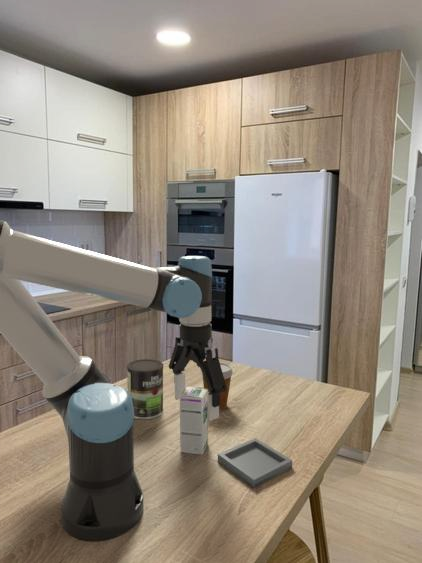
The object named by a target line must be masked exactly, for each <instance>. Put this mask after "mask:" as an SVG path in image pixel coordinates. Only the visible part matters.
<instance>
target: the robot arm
mask: <svg viewBox="0 0 422 563" xmlns="http://www.w3.org/2000/svg"><path fill="white" fill-rule="evenodd" d="M212 267H213V266H212V261H211V259H210V258H209V257H208V256H203V255H186V256H180V257H179V258H178V263H177V265H173V266H163V267H162V266H160V267H149V266H145V265H142V264H138V263H136V262H135V263H134V262H131V261H127V260H124V259H121V258H117V257H113V256H109V255H106V254H103V253H102V254H101V253H98V252H95V251H91V250H86V249H83V248H79V247H77V246H72V245H69V244H65V243H62V242H58V241H54V240H51V239H47V238H43V237H40V236H36V235H32V234H29V233H24V232H21V231H18V230H14V229H12V228H11V226H10V225H9V223H8V222H7V221H5V220H2V219H0V334H1V335H2V337H3V338H4V339H5V340H6V341H7V342H8V344H10V346H11V347H12V349H14V350H15V352H16V353H17V354H18V355H19V356H20V358H21V359H22V360H23V361H24V362H25V364H26V365H27V366H28V367H29V368H30V370H32V372H33V373H34V374H35V375H36V376H37V378H38V379H39V380H40V381H41V382H42V383H43V387H42V393H41V395H42V396H43V397H44V398H45V400H46V401H47V402H48V403H49V404H50V405H51V407H52V408H53V409H54V410H55V411H56V412H57V414H58V415H59V416H60V417H61V419H62V422H63V425H64V430H65V433H66V437H67V442H68V460H69V462H68V463H69V464H68V465H69V481H68V484H67V486H66V490H65V493H64V496H63V500H62V503H61V509H60V515H61V516H60V517H61V525H62V528H63V530H64V531H66V533H67V534H69V535H70V536H71V537H74V538H75V539H79V540H82V541H90V542H93V541H95V542H97V541H104V540H105V541H106V540H109V539H113V538H116V537H119V536H120V535H122V534H124V533H126V532H128V531H129V530H130V529H132V528H133V527H134V526H135V525H136V524H137V523H138V522H139V521H140V519H141V517H142V516H143V512H144V503H145V502H144V493H143V490H142V487H141V485H140V482H139V479H138V476H137V475H136V472H135V464H134V463H135V462H134V461H135V460H134V459H135V454H134V453H135V450H134V448H135V447H134V446H135V442H134V437H135V436H134V419H135V418H134V407H133V402H132V398H131V396H130V394H129V393H128V390H126V389H125V388H123V387H122V386H120V385H117V386H116V385H115V383H112V382H111V380H110V378H109V377H108V376H107V375H106V374H105V373H104V372H103V371H101V370H100V368H99V367H98V366H97V365H96V363H95V362H94V361H93V359H92V358H91V357H89V356H88V355H87V356H86V355H84V356H83V355H79V354H78V352H77V351H76V349H74V347H73V346H72V345H71V344H70V342H69V341H68V340H67V339H66V337H65V336H64V335H63V334H62V332H61V331H60V330H59V328H58V327H57V326H56V325H55V324H54V322H53V321H52V320H51V318H50V317H49V316H48V314H47V313H46V312H45V310H43V308H42V306H41V305H40V304H39V303H38V302H37V301H36V299H35V298H34V296H33V295H32V294H31V293H30V291H29V290H28V289H27V287H25V285H24V284H23V282H26V283H31V284H37V285H39V286H40V285H41V286H46V287H51V288H55V289H60V290H63V291H69V292H72V293H77V294H81V295H87V296H91V297H96V298H101V299H105V300H110V301H114V302H119V303H123V304H128V305H134V306H138V307H142V308H146V309H150V310H153V311H157V312H158V311H159V312H163V313H166V314H167V315H169V316H170V317H174V318H177V319H178V320H179V323H180V324H179V336H176V337H175V339H174V340H175V342H174V348H173V349H172V354H171V357H170V361H169V363H168V368H169V370H172V373H173V376H174V378H173V382H174V400H176V401H178V400H180V396H181V394H182V393H183V391H184V390H185V389H186V372H185V371H186V369H185V368H186V367H187V366H188V365H189V362H191V361H192V362H194V363H195V364H196V366H197V367H198V368H199V369H200V372H201V371H202V373H203V376H204V378H205V380H206V383H207V385H208V387H209V390H210V392H208V422H209V421H213V420H215V419H218V418H220V410H219V406H220V393H222V392H225V391H227V387H226V383H225V380H224V376H223V373H222V369H221V366H220V363H221V362H220V359H219V350H218V347H213V348H212V347H211V348H210V347H209V341H210V340H211V338H212V335H213V334H212V333H213V332H212V328H213V327H212V323H211V322H212V286H213V285H212V284H213V283H212V282H213V281H212V280H213V279H212V278H213V271H212V270H213V269H212ZM202 373H201V374H202ZM203 376H202V377H203ZM213 386H214V387H213Z"/></svg>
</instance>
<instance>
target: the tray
mask: <svg viewBox="0 0 422 563" xmlns="http://www.w3.org/2000/svg"><path fill="white" fill-rule="evenodd" d="M217 462H218V463H219V464H221V465H222V467H224V468H226V469H228V470H229V471H230V472H232V473H233V474H235V476H236V477H238V478H239V479H240V480H242V481H244V482H245V483H246V484H248V485H249V486H251V487H252V488H253V489H254V488H256V487H258V486H260V485H262V484H264V483H265V482H268V481H269V480H271V479H273V478H275V477H277V476H279V475H281V474H283V473H285V472H286V471H288V470H290V469H293V459H291V458H290V457H287V456H286V455H284V454H283V453H281V452H279V451H277V449H274V448H273V447H271V446H269V445H268V444H266V443H265V442H263V441H261V440H260V439H258V438H256V437H255V438H252V439H250V440H248V441H245V442H243V443H241V444H240V443H239V444H238V445H236V446H234V447H231V448H229V449H227V450H225V451H221V452H220V453H217Z"/></svg>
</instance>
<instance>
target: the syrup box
mask: <svg viewBox="0 0 422 563" xmlns="http://www.w3.org/2000/svg"><path fill="white" fill-rule="evenodd" d="M179 441H180V444H179V445H180V446H179V449H180V450H179V451H180V453H186V454H192V455H200V456H201V455H204V453H205V451H206V448H207V446H208V444H209V420H208V389H206V388H204V387H199V386H198V387H196V386H185V390H184V391H183V393H182V394H181V396H180V399H179Z"/></svg>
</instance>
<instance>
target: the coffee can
mask: <svg viewBox="0 0 422 563" xmlns="http://www.w3.org/2000/svg"><path fill="white" fill-rule="evenodd" d="M126 371H127V392H128V393H129V394H130V396H131V398H132V402H133V407H134V419H135V420H141V421H142V420H146V421H147V420H151V419H155V418H157V417H160V416H161V415H162V414H163V412H164V405H163V404H164V363H163V362H162V361H159V360H156V359H151V358H149V359H148V358H147V359H138V360H137V359H136V360H132V361H130V362H129V363H127V365H126Z"/></svg>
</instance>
